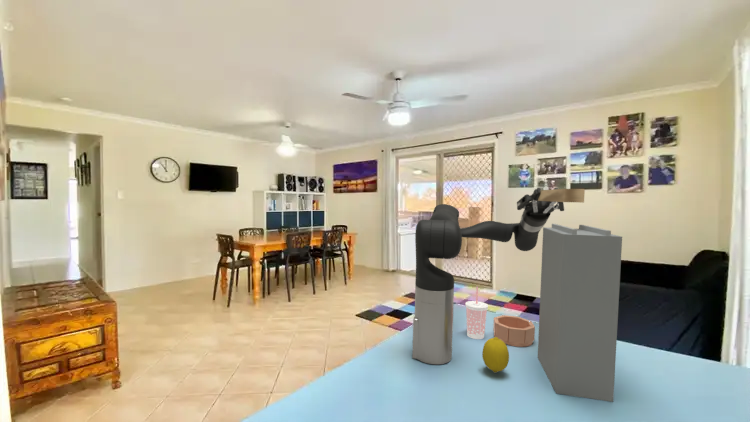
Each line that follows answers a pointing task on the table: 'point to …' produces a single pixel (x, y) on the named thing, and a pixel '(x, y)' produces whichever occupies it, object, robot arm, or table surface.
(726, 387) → the table surface
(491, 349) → the lemon
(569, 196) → the slat
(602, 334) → the shelf block
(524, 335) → the bowl
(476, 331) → the beverage cup
